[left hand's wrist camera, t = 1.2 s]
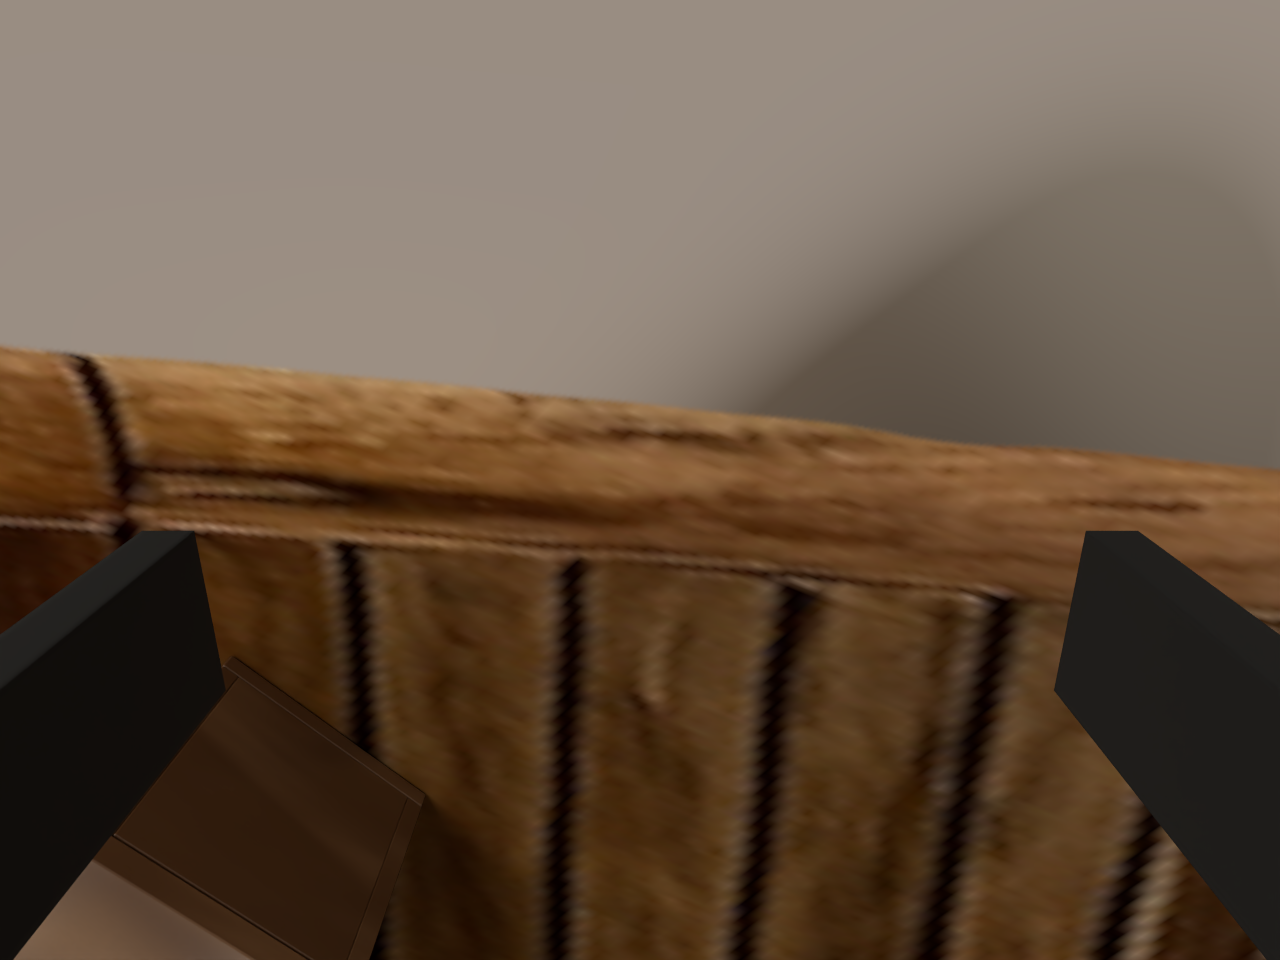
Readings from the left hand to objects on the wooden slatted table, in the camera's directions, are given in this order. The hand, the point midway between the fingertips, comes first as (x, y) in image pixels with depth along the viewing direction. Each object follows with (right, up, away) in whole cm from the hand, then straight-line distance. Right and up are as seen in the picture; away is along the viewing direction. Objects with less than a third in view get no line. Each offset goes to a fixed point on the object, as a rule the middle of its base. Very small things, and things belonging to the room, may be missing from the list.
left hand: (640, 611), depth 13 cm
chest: (-18, -14, +25) cm, 34 cm away
